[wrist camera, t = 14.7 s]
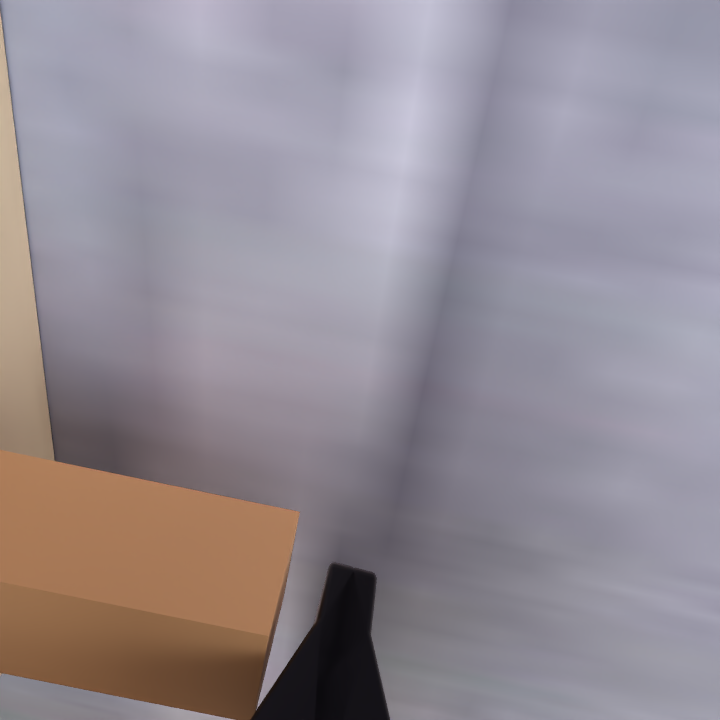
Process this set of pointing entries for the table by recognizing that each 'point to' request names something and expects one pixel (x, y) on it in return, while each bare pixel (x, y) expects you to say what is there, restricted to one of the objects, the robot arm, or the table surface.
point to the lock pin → (138, 586)
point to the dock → (18, 306)
